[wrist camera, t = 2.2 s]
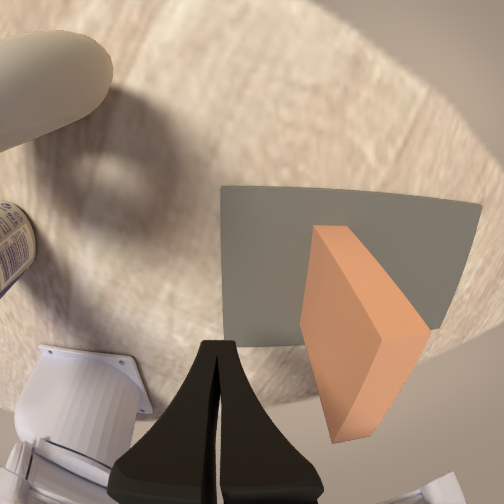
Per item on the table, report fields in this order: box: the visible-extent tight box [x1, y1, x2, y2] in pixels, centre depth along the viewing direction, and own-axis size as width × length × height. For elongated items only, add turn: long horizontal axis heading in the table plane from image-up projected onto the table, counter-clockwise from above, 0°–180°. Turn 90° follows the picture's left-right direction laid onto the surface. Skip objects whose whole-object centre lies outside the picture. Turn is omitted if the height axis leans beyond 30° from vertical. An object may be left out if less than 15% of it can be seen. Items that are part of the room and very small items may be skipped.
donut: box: [0, 30, 113, 152], centre depth 8 cm, size 10×4×10 cm, turn 97°
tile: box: [300, 225, 431, 444], centre depth 14 cm, size 2×7×9 cm, turn 179°
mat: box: [221, 186, 482, 347], centre depth 18 cm, size 18×11×1 cm, turn 88°
